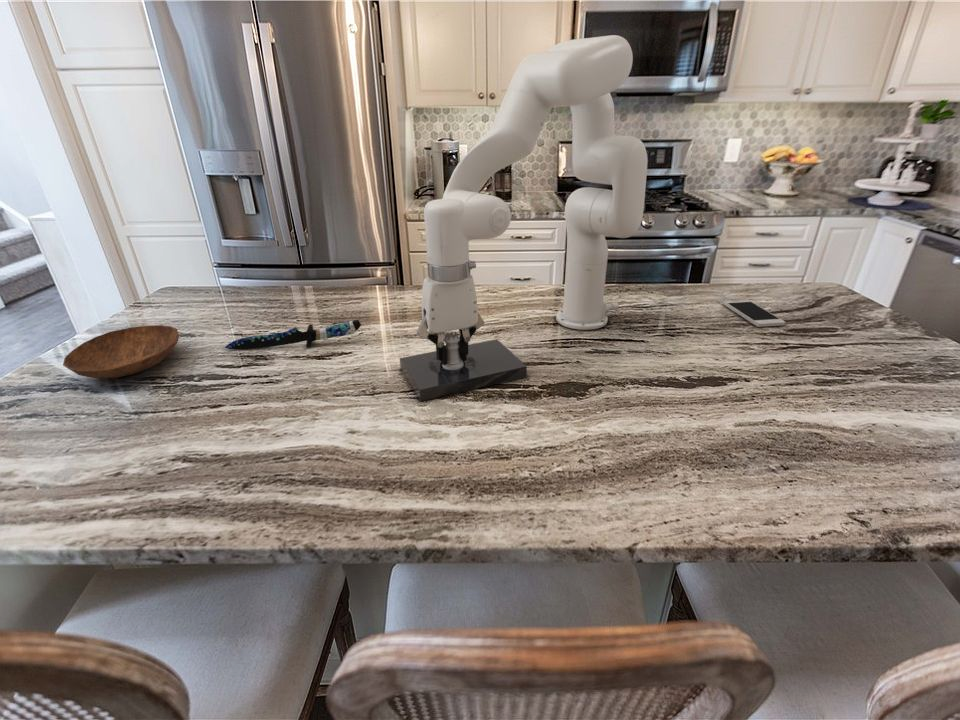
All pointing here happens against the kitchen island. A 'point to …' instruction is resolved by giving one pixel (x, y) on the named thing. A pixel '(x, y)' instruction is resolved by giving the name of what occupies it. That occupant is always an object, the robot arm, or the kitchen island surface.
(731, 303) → the smartphone
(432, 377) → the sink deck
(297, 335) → the knife
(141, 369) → the bowl
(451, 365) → the rook chess piece
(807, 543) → the kitchen island surface
